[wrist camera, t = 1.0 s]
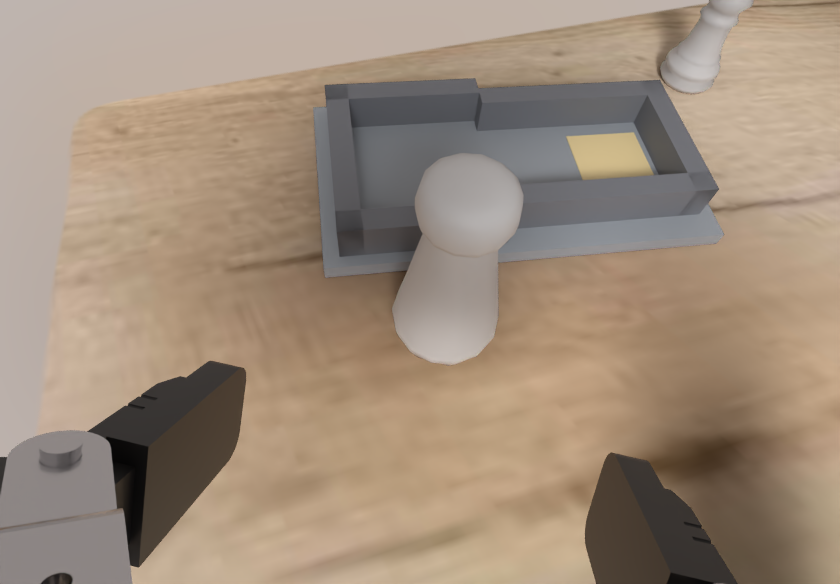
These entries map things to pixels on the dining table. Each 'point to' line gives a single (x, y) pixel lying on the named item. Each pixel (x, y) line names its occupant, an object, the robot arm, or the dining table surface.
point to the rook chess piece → (702, 48)
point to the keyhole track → (510, 167)
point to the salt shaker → (457, 258)
